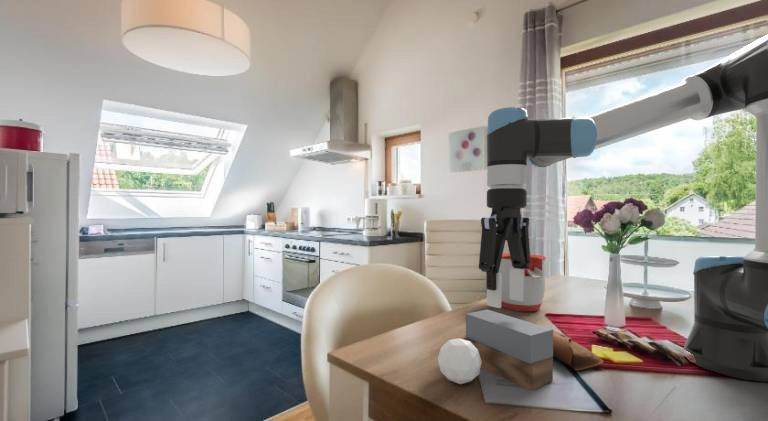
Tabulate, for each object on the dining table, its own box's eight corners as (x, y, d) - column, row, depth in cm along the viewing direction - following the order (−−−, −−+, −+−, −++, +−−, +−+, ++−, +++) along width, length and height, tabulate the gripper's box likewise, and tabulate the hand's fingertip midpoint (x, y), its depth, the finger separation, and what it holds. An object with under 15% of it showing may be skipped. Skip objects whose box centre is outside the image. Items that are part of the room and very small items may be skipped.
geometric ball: (452, 369, 73) (452, 329, 73) (489, 382, 67) (489, 339, 67) (429, 382, 67) (429, 338, 67) (467, 397, 62) (467, 350, 62)
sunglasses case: (608, 360, 73) (591, 336, 72) (584, 385, 72) (567, 360, 71) (548, 331, 91) (533, 311, 90) (528, 350, 89) (513, 330, 88)
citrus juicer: (514, 317, 108) (514, 250, 108) (486, 303, 125) (486, 245, 125) (561, 314, 111) (561, 249, 111) (527, 300, 128) (527, 244, 128)
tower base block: (552, 382, 68) (552, 355, 68) (532, 392, 64) (532, 364, 64) (483, 354, 81) (483, 332, 81) (463, 361, 77) (463, 338, 77)
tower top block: (553, 356, 68) (553, 329, 68) (530, 363, 64) (530, 335, 64) (486, 331, 81) (487, 309, 81) (465, 337, 78) (465, 313, 78)
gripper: (516, 190, 82) (515, 292, 82) (459, 186, 69) (458, 307, 69) (549, 189, 76) (548, 299, 76) (493, 184, 63) (492, 316, 63)
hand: (505, 302), depth 72 cm, fingers open, 7 cm apart
